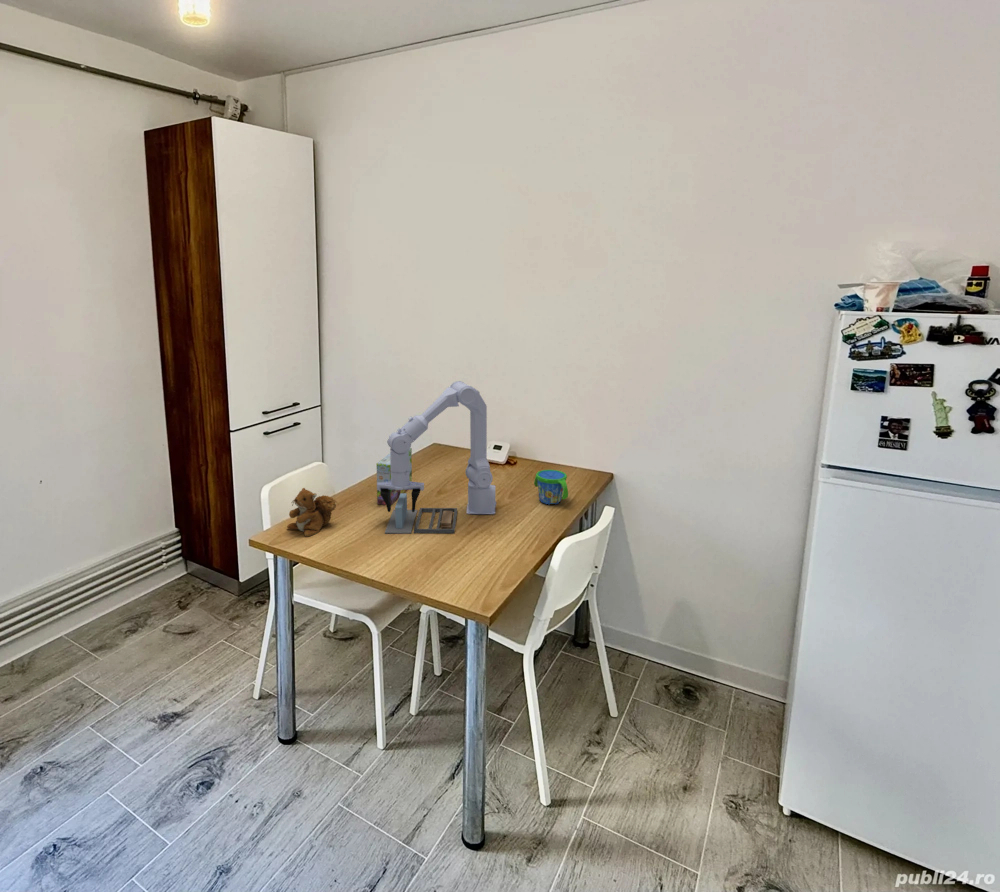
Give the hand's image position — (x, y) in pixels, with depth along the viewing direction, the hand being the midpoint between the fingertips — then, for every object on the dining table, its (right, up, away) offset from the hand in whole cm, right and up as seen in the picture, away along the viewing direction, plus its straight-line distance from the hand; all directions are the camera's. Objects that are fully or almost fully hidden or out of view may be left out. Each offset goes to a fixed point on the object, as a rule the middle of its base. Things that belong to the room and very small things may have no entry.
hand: (401, 510), depth 189 cm
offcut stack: (+14, -4, +1) cm, 15 cm away
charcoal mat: (0, -4, +1) cm, 4 cm away
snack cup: (+49, +1, +20) cm, 53 cm away
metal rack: (+11, -4, +1) cm, 12 cm away
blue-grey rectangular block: (0, -3, +1) cm, 3 cm away
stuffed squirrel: (-27, -5, -4) cm, 27 cm away
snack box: (-6, +3, +24) cm, 25 cm away
